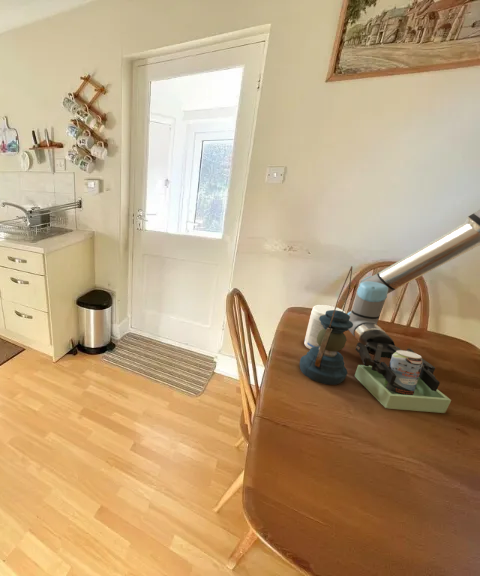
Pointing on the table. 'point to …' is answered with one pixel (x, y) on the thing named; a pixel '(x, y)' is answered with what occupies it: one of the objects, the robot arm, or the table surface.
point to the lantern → (328, 347)
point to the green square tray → (418, 401)
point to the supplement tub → (316, 324)
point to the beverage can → (404, 372)
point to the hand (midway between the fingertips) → (414, 383)
